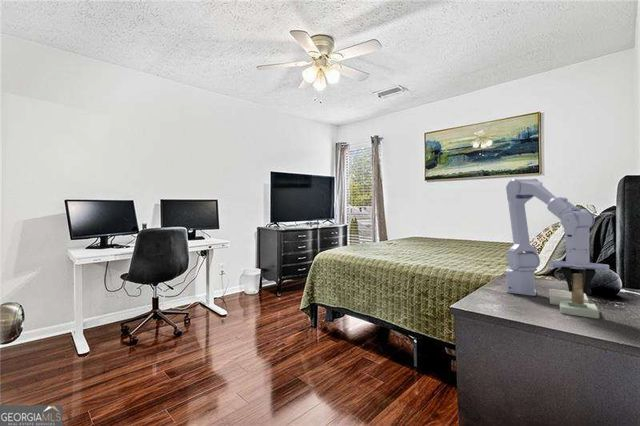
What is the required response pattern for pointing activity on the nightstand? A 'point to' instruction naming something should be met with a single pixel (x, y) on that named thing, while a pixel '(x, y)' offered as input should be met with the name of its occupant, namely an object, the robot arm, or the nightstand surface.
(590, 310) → the holder
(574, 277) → the dowel
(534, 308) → the nightstand surface
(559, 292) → the tray
